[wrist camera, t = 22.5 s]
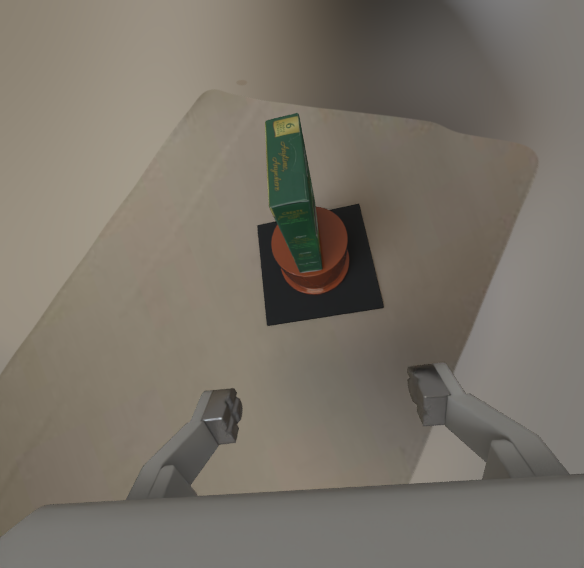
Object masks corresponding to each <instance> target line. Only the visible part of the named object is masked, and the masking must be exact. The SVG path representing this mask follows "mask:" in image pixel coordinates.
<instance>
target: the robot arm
mask: <svg viewBox="0 0 584 568" xmlns="http://www.w3.org/2000/svg"><path fill="white" fill-rule="evenodd" d="M407 373H408V375H409V379H408V380H407V381H408V389H409V393H410V396H411V398H412V401H413V402H414V403H415V404H416V405H417V413H418V415H419V417H420V420H421V422H422V424H423V426H434V425H445V426H446V427H447V428H448V429H449V430H450V431H451V432H453V433H454V434H455V435H456V436H457V437H458V438H459V439H460V440H461V441H463V442H464V443H465V444H466V445H467V446H468V447H469V448H471V449H472V450H473V451H474V452H475V453H476V454H477V455H478V456H480V457H481V458H482V459H483V460H484V461H485V462H486V466H485V470H484V474H483V478H482V480H469V481H451V482H434V483H417V484H399V485H382V486H364V487H346V488H328V489H311V490H294V491H277V492H259V493H242V494H225V495H207V496H197V493H196V492H195V491H194V489H193V488H192V487H191V486H190V485H191V484H192V482H193V481H194V480H195V478H196V477H197V475H198V474H199V473H200V471H201V470H202V468H203V467H204V466H205V464H206V463H207V461H208V460H209V459H210V457H211V456H212V454H213V453H214V452H215V450H216V449H217V447H218V446H219V445H220V444H229V443H236V439H237V434H238V430H239V428H238V426H237V424H238V422H239V421H240V420H241V417H242V403H241V400H240V399H239V398H238V397H236V394H237V392H236V390H235V388H231V389H220V390H210V391H204V392H203V393H202V395H201V397H200V400H199V402H198V404H197V407H196V409H195V411H194V414H193V416H192V419H191V421H190V422H189V423H186V424H185V425H184V426H183V427H182V428H181V429H180V430H179V431H178V432H177V433H176V434H175V435H174V436H173V437H172V438H171V439H170V440H169V441H168V442H167V443H166V444H165V445H164V446H163V447H162V448H161V449H160V450H159V451H158V452H157V453H156V454H155V455H154V456H153V457H152V458H151V459H150V460H149V461H148V462H147V463H146V464H145V465H144V466H143V467H142V469H141V471H140V473H139V475H138V477H137V479H136V481H135V483H134V485H133V487H132V489H131V491H130V493H129V495H128V497H127V499H126V500H120V501H102V502H84V503H66V504H49V505H44V506H42V507H40V508H38V509H36V510H35V511H33V512H32V513H31V514H29V515H28V516H27V517H25V518H24V519H23V520H21V521H20V522H19V523H18V524H16V525H15V526H14V527H13V528H11V529H10V530H9V531H8V532H6V533H5V534H4V535H3V536H1V537H0V568H584V474H573V475H570V474H569V473H568V472H567V470H566V469H565V468H564V467H563V465H562V464H561V463H560V462H559V460H558V459H557V458H556V457H555V455H554V454H553V453H552V452H551V450H550V449H549V448H548V447H547V445H546V444H545V443H544V442H543V440H542V439H541V438H540V437H539V436H538V435H537V434H535V433H533V432H532V431H530V430H529V429H527V428H525V427H523V426H522V425H520V424H519V423H517V422H515V421H514V420H512V419H511V418H509V417H507V416H506V415H504V414H503V413H501V412H499V411H498V410H496V409H494V408H493V407H491V406H489V405H488V404H486V403H485V402H483V401H481V400H480V399H478V398H476V397H475V396H473V395H471V394H466V393H465V391H464V390H463V388H462V387H461V386H460V384H459V382H458V381H457V379H456V378H455V376H454V375H453V373H452V372H451V370H450V369H449V367H448V366H447V364H446V363H445V362H441V363H433V364H424V365H417V366H409V367H408V368H407Z"/></svg>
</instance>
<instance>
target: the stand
mask: <svg viewBox="0 0 584 568" xmlns="http://www.w3.org/2000/svg"><path fill="white" fill-rule="evenodd" d="M316 213H317V221H318V230H319V240H320V249H321V259H322V270H319V271H313V272H305V273H300V272H299V270H298V267H297V265H296V263H295V261H294V258H293V256H292V254H291V252H290V250H289V248H288V246H287V243H286V241H285V239H284V237H283V235H282V233H281V231H280V229H279V226H278V225H277V226H276V228H275V230H274V233H273V236H272V242H271V245H272V252H273V255H274V258H275V259H276V261H277V263H278V264H279V266H280V267H281V270H282V274H283V276H284V278H285V280H286V281H287V282H288V284H289V285H290V286H291V287H292V288H294V289H295V290H297V291H298V292H301V293H303V294H307V295H320V294H325V293H327V292H330V291H332V290H333V289H335V288H336V287H337V286H338V285H340V283H341V282H342V281H343V280H344V278H345V276H346V274H347V272H348V268H349V254H348V250H347V242H348V237H347V231H346V228H345V226H344V224H343V222H342V221H341V219H340V218H339V217H338V216H337V215H336V214H334V213H333V212H331V211H329V210H327V209H325V208H321V207H316Z"/></svg>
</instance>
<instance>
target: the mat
mask: <svg viewBox="0 0 584 568" xmlns="http://www.w3.org/2000/svg"><path fill="white" fill-rule="evenodd" d="M329 211H331V212H333V213H334V214H336V215H337V216H338V217H339V218H340V219H341V221H342V222H343V224H344V226H345V228H346V231H347V237H348V242H347V250H348V254H349V268H348V272H347V274H346V276H345V278H344V280H343V281H342V282H341V283H340V285H338V286H337V287H336V288H335V289H333V290H332V291H330V292H327V293H325V294H320V295H307V294H303V293H301V292H298V291H297V290H295V289H294V288H292V287H291V286H290V285H289V284H288V282H287V281H286V280H285V278H284V276H283V274H282V270H281V267H280V266H279V264H278V263H277V261H276V259H275V258H274V255H273V252H272V245H271V242H272V236H273V233H274V230H275V228H276V226H277V225H278V224H277V222H271V223H267V224H262V225H258V226H257V227H258V237H259V247H260V258H261V268H262V279H263V289H264V299H265V310H266V320H267V326H270V325H277V324H283V323H289V322H296V321H302V320H309V319H315V318H322V317H328V316H334V315H341V314H347V313H354V312H360V311H367V310H373V309H379V308H383V307H384V306H383V302H382V298H381V293H380V289H379V285H378V281H377V277H376V273H375V268H374V264H373V260H372V256H371V252H370V247H369V243H368V239H367V235H366V231H365V227H364V222H363V218H362V214H361V210H360V206H359V204H356V205H351V206H346V207H342V208H337V209H332V210H329Z"/></svg>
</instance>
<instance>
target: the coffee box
mask: <svg viewBox="0 0 584 568" xmlns="http://www.w3.org/2000/svg"><path fill="white" fill-rule="evenodd" d="M265 136H266V158H267V181H268V198H269V208H270V210H271V212H272V214H273V216H274V218H275V220H276V222H277V224H278V226H279V229H280V231H281V233H282V235H283V237H284V239H285V241H286V243H287V246H288V248H289V250H290V252H291V254H292V256H293V258H294V261H295V263H296V265H297V267H298V270H299V272H300V273H305V272H313V271H319V270H322V259H321V249H320V240H319V230H318V221H317V213H316V206H315V200H314V194H313V188H312V183H311V178H310V172H309V167H308V161H307V156H306V150H305V145H304V139H303V134H302V128H301V123H300V118H299V114H298V113H295V114H292V115H287V116H283V117H279V118H274V119H271V120H267V121H266V122H265Z"/></svg>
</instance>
